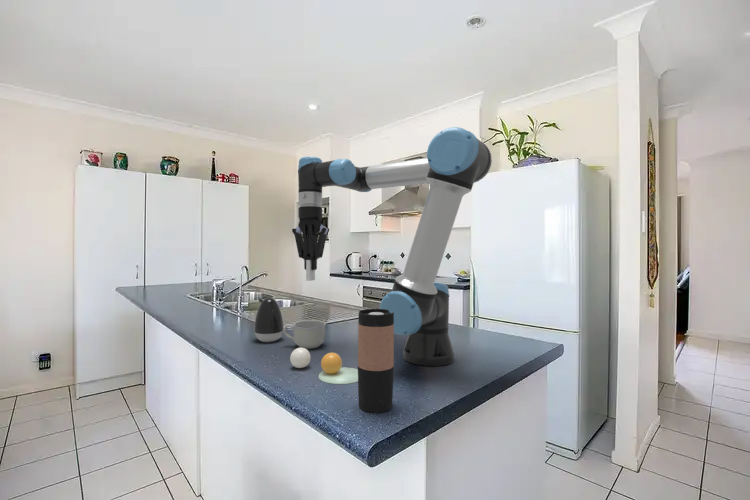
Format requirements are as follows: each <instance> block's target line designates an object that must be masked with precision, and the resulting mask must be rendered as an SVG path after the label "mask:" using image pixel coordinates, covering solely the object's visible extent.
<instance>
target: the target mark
mask: <svg viewBox="0 0 750 500" xmlns="http://www.w3.org/2000/svg"><path fill="white" fill-rule="evenodd" d="M318 379H319V380H320V381H321V382H324V383H326V384H332V385H349V384H354V383H358V368H355V367H347V366H345V367H343V366H341V369H340V370H339V371H338V372H337V373H335V374H327V373H326V372H324V371H323V370H322V371H321V372H319V374H318Z"/></svg>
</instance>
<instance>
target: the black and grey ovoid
mask: <svg viewBox="0 0 750 500" xmlns="http://www.w3.org/2000/svg"><path fill="white" fill-rule="evenodd" d="M258 302H259V303H260V304H259V306H258V309H257V311H256V315H255V318H254V325H253V333H254V335H255V338H256V339H257V340H259V342H262V343H273V342H277V341H278V340H279V339H280V338H281V337H282V335H283V333H284V332H283V329H284V326H285V325H284V319H283V314H282V311H281V308H280V305H279V303H278V302H277V301H276V300H275V298H273V297H266V298H264V299H262V298H259V299H258Z"/></svg>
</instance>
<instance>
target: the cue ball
mask: <svg viewBox="0 0 750 500" xmlns="http://www.w3.org/2000/svg"><path fill="white" fill-rule="evenodd" d="M289 361H290V363H291V365H292V366H293V367H294V368H297V369H303V368H305V367H307V366H308V365H309V363H310V362H311V353H310V352H309V349H305V348H300V347H297V348H295V349H294V350H292V352H291V353H290V357H289Z"/></svg>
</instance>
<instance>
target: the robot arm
mask: <svg viewBox="0 0 750 500" xmlns="http://www.w3.org/2000/svg"><path fill="white" fill-rule="evenodd" d="M491 166H492V154H491V151H490V149H489V147H488V146H487V145H486V144H485V143H484V142H483V141H482V140H480V139H478V138H477V136H476V135H475V134H474V133H473V132H471V131H469V130H466V129H465V128H462V127H457V126H456V127H455V126H453V127H448V128H445V129H443V130H441V131H439V132H438V133H436V135H434V137H433V138H432V139H431V141H430V143H429V144H428V147H427V151H426V157H423V158H417V159H409V160H408V159H407V160H403V161H395V162H389V163H388V162H387V163H381V164H375V165H369V166H362V167H361V166H360V167H359V166H355V164H354V163H353V162H352V160H350V159H348V158H344V159H343V158H338V159H334V160H329V161H323V160H322V159H321V158H320V157H317V156H303V157H301V158H299V160H298V167H297V168H298V169H297V177H298V178H297V179H298V182H297V183H298V184H297V185H298V193H297V194H298V206H299V207H298V216H297V217H298V220H299V222H298V225H297V226H296V227H295V228H292V230H291V232H292V233H293V235H294V240H295V244H296V248H297V253H298V257H299V258H301V259H303V264H304V267H303V268H304V270H306V271H305V274H306V275H305V277H306V281H315V280H316V271H317V268H318V266H317V265H318V259H321V258H323V254H324V249H325V244H326V240H327V236H328V235H329V232H330V228H329V227H326V226H324V223H323V208H322V206H323V188H326V187H338V188H339V187H340V188H343V189H348V190H352V191H356V192H359V193H369V192H371V191H372V190H375V189H385V188H386V189H387V188H395V187H405V186H407V187H408V186H414V185H416V186H417V185H423V184H425V185H426V184H429V189H428V193H427V196H426V198H425V199H426V200H425V202H424V204H423V209H422V212H421V215H420V218H419V222H418V225H417V229H416V230H415V231H416V232H415V235H414V237H413V240H412V245H411V247H410V251H409V253H408V257H407V260H406V263H405V266H404V270H403V272H402V274H400V275H398V276H396V277H395V279H394V283H393V286H392V289H391V291H390V292H388V293H387V294H386V295H384V297H383V298H382V300H381V302H380V304H379V309H386V310H389V312H390V313H393V312H394V335H395V334H396V335H398V336H407V338H406V342H405V344H404V347H403V352H402V353H403V359H404V360H405V361H406V362H407V363H410V364H414V365H418V366H425V367H427V366H428V367H438V366H447V365H450V364H452V363H454V361H455V351H454V348H453V344H452V341H451V338H450V334H449V320H450V318H449V317H450V316H449V315H450V314H449V313H450V309H449V308H450V307H449V306H450V304H449V303H450V291H449V286H448V285H447V284H446V283H442V282H440V283H439V282H436V278H437V276H438V273H439V270H440V267H441V264H442V260H443V258H444V254H445V251H446V248H447V245H448V242H449V240H450V236H451V233H452V230H453V227H454V224H455V222H456V221H455V220H456V218H457V214H458V211H459V209H460V206H461V203H462V200H463V197H464V196H465V195H466V194H469V193H471V192H472V189H473V186H474V184H475V183H478V182H480V181H481V180H483V179H484V178H485V177H486V176H487V174H488V173H489V171H490V169H491Z"/></svg>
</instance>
